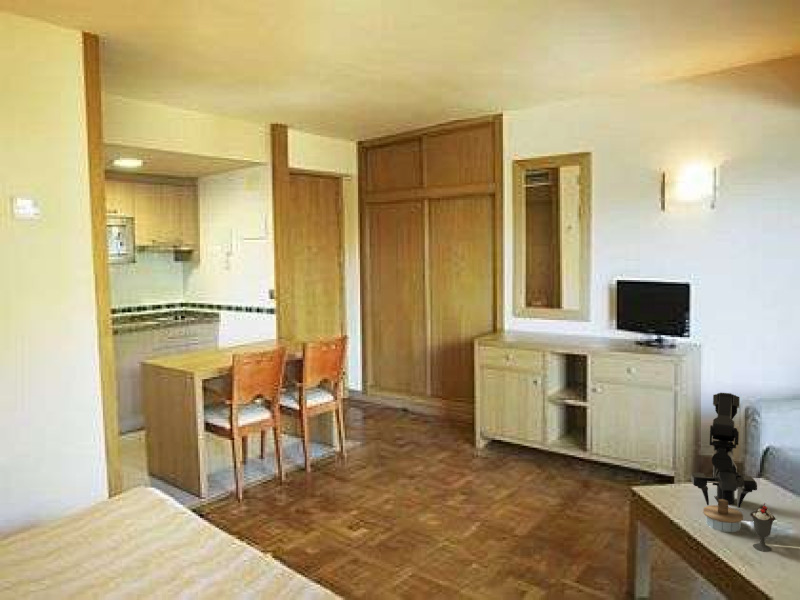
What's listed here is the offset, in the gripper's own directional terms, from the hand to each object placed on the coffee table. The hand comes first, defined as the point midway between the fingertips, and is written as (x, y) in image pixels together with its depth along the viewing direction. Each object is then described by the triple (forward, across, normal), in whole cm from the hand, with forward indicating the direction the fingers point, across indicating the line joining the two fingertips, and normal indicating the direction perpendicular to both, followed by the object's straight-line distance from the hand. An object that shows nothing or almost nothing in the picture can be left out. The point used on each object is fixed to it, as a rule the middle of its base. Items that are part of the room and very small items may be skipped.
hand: (723, 506), depth 193 cm
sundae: (+7, +8, -13) cm, 17 cm away
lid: (+3, 0, 0) cm, 3 cm away
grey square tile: (+7, +9, +10) cm, 15 cm away
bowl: (+7, 0, 0) cm, 7 cm away
